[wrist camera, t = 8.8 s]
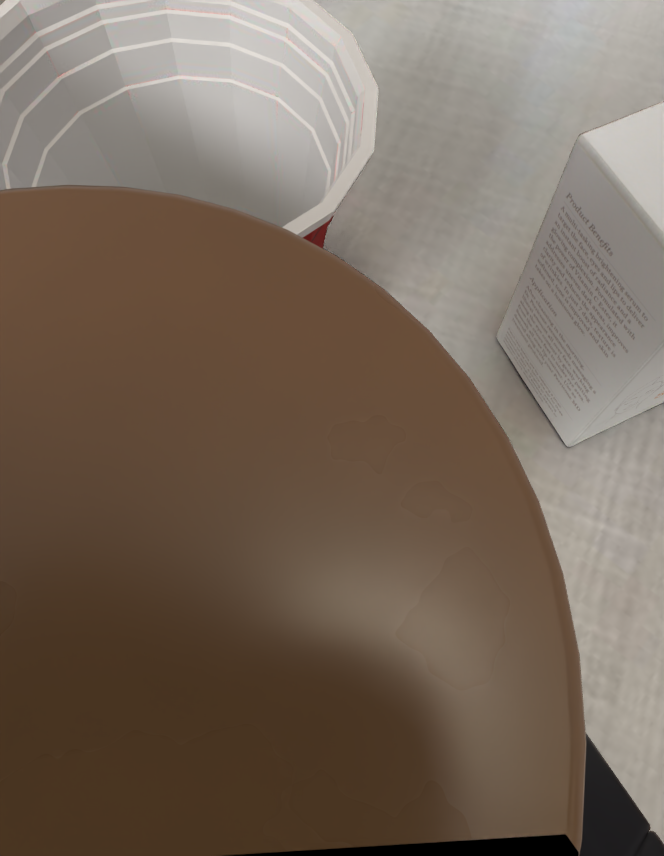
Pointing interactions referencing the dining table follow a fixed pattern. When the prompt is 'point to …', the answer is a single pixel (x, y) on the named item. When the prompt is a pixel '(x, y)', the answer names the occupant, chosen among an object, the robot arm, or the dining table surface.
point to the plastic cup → (188, 102)
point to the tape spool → (260, 557)
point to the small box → (597, 284)
